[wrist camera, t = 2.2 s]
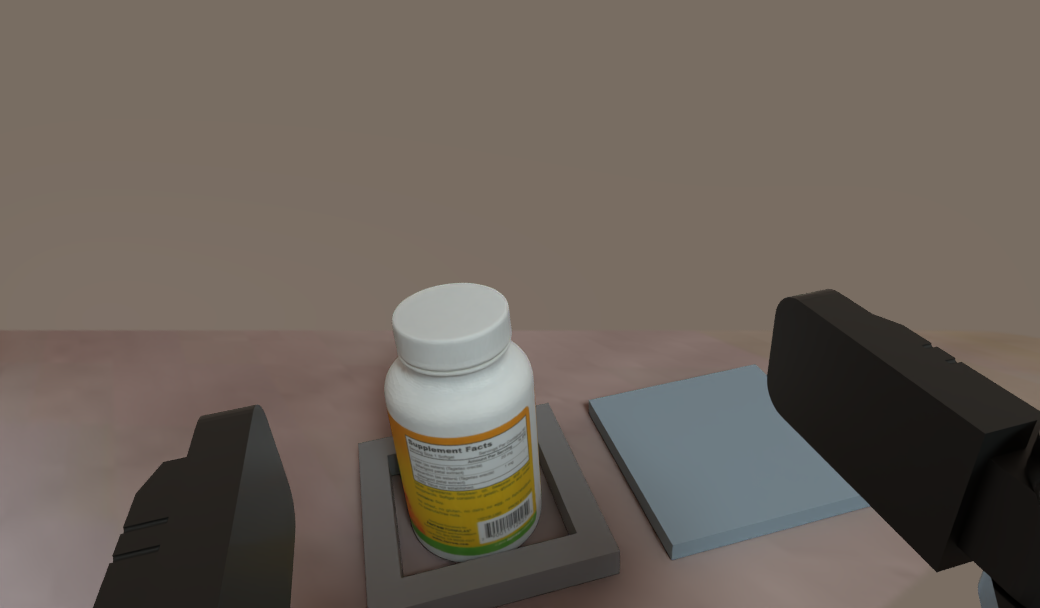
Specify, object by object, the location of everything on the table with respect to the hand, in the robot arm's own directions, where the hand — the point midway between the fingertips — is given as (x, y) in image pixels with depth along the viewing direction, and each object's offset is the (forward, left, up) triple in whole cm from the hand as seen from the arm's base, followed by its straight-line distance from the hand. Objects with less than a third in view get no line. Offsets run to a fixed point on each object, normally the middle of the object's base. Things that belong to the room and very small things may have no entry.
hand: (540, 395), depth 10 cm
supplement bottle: (0, +11, -14) cm, 18 cm away
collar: (0, +11, -14) cm, 18 cm away
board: (+11, +11, -14) cm, 21 cm away
